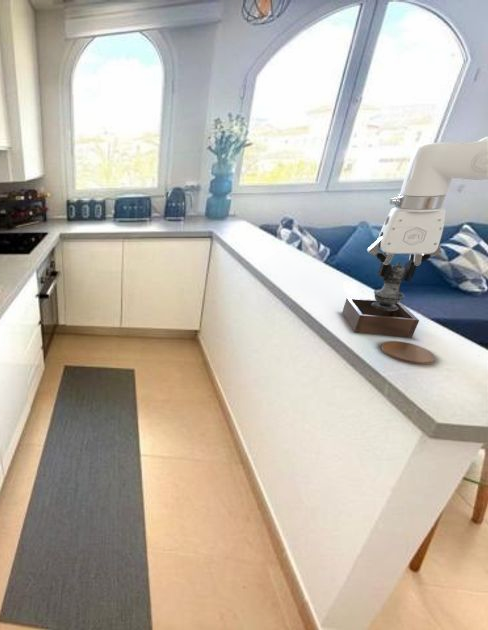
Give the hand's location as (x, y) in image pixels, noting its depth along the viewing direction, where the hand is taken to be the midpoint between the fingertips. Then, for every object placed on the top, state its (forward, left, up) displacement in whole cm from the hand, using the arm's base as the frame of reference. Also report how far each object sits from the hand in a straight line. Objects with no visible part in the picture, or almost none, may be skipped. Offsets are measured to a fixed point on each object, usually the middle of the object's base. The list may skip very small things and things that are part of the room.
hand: (393, 278), depth 85 cm
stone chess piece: (0, 0, -8) cm, 8 cm away
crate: (0, 0, -13) cm, 13 cm away
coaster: (-2, +14, -13) cm, 19 cm away
